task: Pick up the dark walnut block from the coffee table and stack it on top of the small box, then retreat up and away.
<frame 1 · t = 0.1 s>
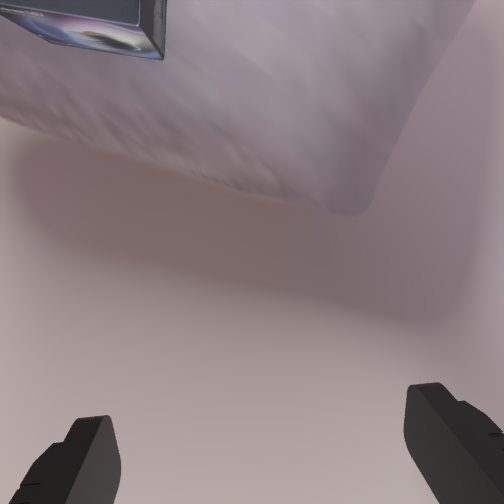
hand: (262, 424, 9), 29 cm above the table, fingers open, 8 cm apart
small box: (108, 17, 31), on the table
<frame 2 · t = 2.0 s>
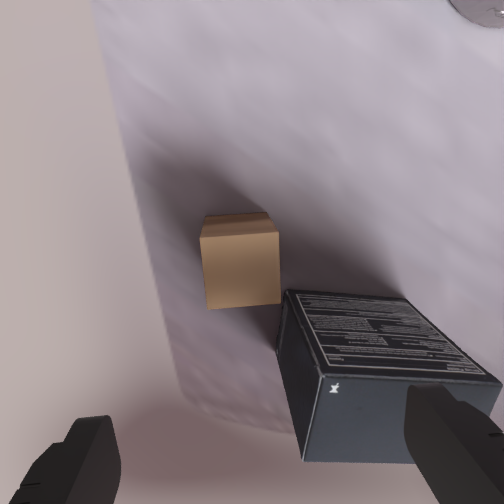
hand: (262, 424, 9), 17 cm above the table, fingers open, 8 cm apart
small box: (339, 326, 29), on the table
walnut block: (238, 243, 26), on the table
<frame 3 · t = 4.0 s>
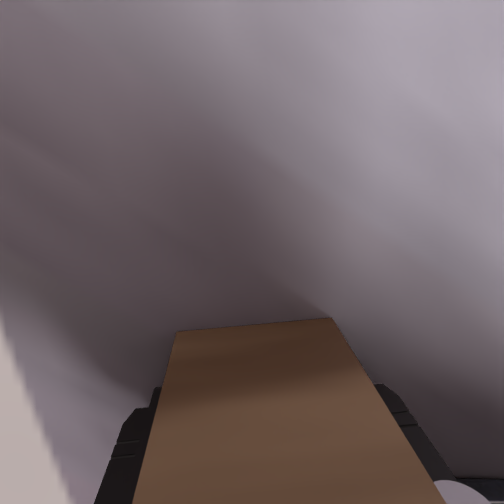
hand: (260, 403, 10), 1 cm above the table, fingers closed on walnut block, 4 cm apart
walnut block: (259, 389, 11), on the table, touching gripper
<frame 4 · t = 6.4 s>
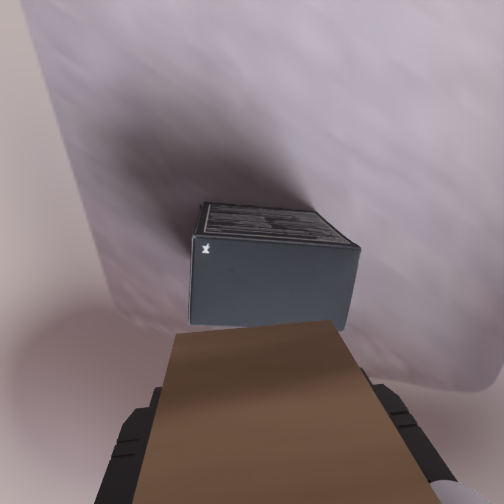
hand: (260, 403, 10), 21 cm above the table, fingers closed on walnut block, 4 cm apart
small box: (257, 240, 31), on the table
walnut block: (258, 390, 11), point 21 cm above the table, touching gripper
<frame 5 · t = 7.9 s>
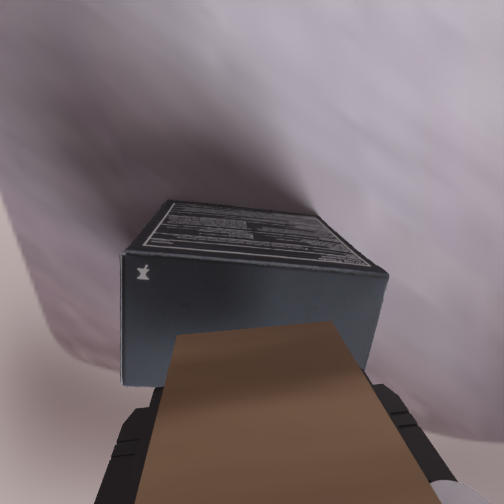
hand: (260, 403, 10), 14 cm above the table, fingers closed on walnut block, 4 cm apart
small box: (239, 251, 24), on the table
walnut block: (259, 391, 11), point 14 cm above the table, touching gripper
when the fingers open (12 cm above the table, at t = 8.8 s): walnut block stays where it is, resting on small box.
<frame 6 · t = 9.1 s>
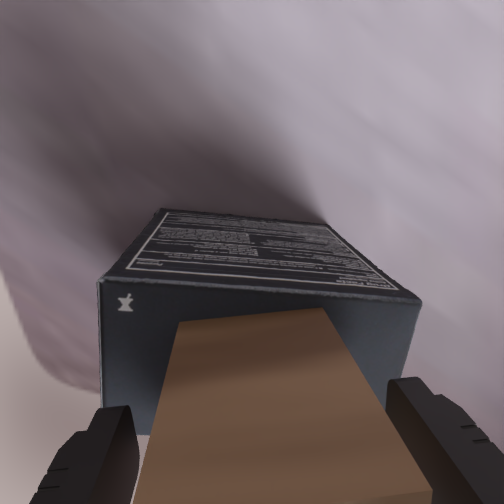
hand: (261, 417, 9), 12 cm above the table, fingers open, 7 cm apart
small box: (241, 264, 21), on the table, touching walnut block
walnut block: (256, 374, 11), point 10 cm above the table, touching small box
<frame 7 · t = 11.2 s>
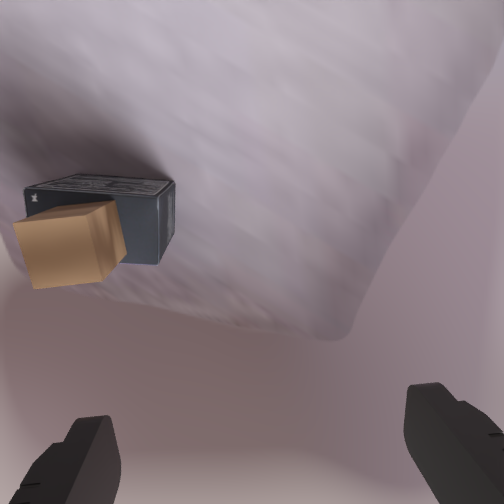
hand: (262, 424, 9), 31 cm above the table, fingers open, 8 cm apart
small box: (127, 206, 38), on the table, touching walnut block
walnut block: (93, 230, 28), point 10 cm above the table, touching small box
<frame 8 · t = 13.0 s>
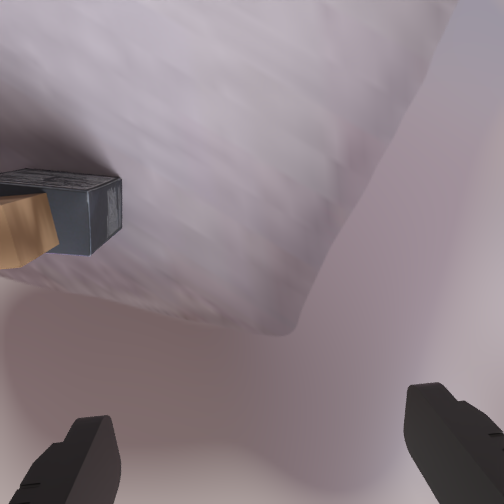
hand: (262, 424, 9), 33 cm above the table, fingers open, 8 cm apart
small box: (76, 200, 39), on the table, touching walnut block
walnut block: (26, 221, 29), point 10 cm above the table, touching small box
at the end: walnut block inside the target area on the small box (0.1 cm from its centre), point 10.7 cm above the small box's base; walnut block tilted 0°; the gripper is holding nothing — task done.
